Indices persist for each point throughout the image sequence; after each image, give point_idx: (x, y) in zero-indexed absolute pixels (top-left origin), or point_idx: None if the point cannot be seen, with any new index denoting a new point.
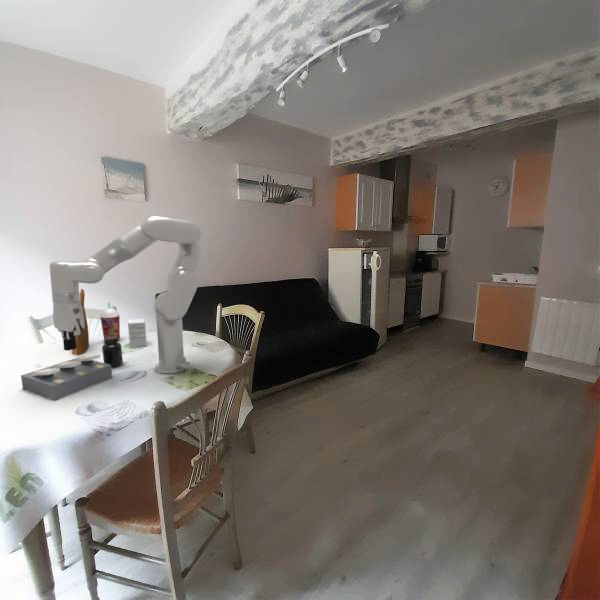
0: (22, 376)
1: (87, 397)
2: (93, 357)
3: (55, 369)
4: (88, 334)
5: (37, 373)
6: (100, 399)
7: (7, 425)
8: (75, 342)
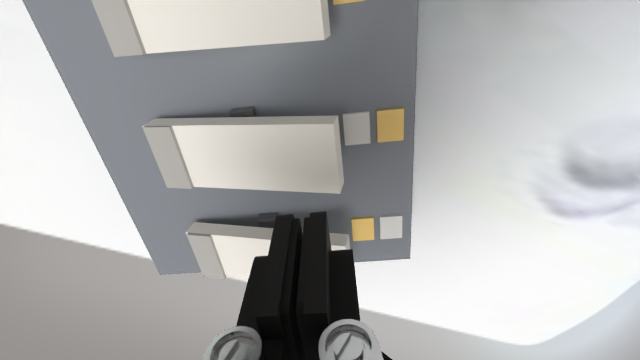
0: (172, 272)
1: (498, 138)
2: (321, 2)
3: None
4: None
5: None
6: (576, 118)
7: (428, 321)
8: (328, 262)
